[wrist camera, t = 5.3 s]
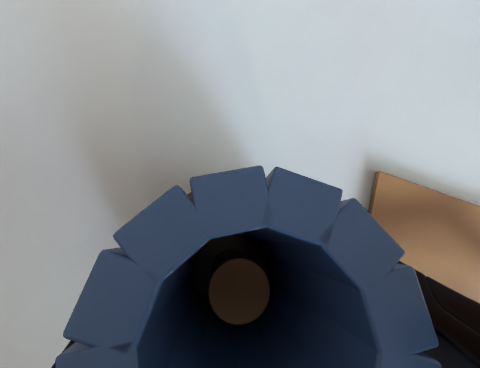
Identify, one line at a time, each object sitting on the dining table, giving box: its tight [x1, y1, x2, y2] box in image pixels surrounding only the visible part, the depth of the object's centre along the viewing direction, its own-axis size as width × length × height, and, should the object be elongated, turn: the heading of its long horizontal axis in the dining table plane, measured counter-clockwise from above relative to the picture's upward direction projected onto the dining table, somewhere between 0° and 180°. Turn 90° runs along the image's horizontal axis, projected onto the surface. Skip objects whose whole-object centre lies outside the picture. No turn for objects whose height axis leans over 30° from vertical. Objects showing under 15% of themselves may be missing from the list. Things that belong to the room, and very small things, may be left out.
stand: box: [187, 192, 270, 325], centre depth 11 cm, size 9×9×8 cm
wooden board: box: [368, 171, 480, 303], centre depth 15 cm, size 20×18×1 cm
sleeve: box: [55, 166, 442, 368], centre depth 8 cm, size 6×6×8 cm
